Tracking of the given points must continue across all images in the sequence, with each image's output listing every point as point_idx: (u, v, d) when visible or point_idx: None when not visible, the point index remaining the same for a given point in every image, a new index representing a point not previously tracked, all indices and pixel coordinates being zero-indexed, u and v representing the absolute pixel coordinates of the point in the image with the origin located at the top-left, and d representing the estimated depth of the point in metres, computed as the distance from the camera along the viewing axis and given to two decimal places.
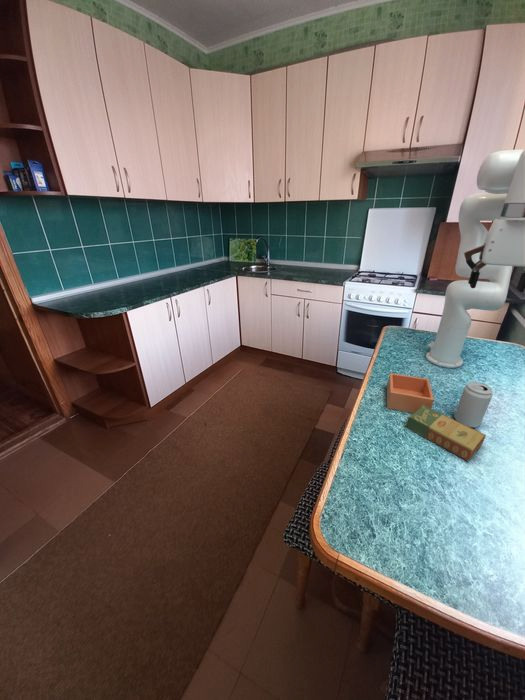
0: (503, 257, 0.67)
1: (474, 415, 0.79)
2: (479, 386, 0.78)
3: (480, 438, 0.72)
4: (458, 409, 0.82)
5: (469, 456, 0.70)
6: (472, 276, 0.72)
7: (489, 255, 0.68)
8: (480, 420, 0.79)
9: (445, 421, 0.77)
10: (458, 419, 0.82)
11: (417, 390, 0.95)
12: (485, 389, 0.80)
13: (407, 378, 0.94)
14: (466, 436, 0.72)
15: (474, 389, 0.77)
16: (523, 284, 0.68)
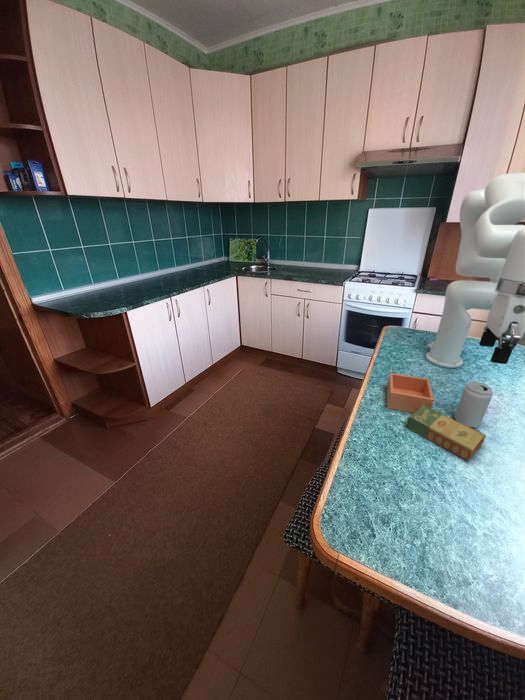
0: (490, 322, 0.72)
1: (474, 415, 0.79)
2: (479, 386, 0.78)
3: (480, 438, 0.72)
4: (458, 409, 0.82)
5: (469, 456, 0.70)
6: None
7: (488, 317, 0.74)
8: (480, 420, 0.79)
9: (445, 421, 0.77)
10: (458, 419, 0.82)
11: (417, 390, 0.95)
12: (485, 389, 0.80)
13: (407, 378, 0.94)
14: (466, 436, 0.72)
15: (474, 389, 0.77)
16: None
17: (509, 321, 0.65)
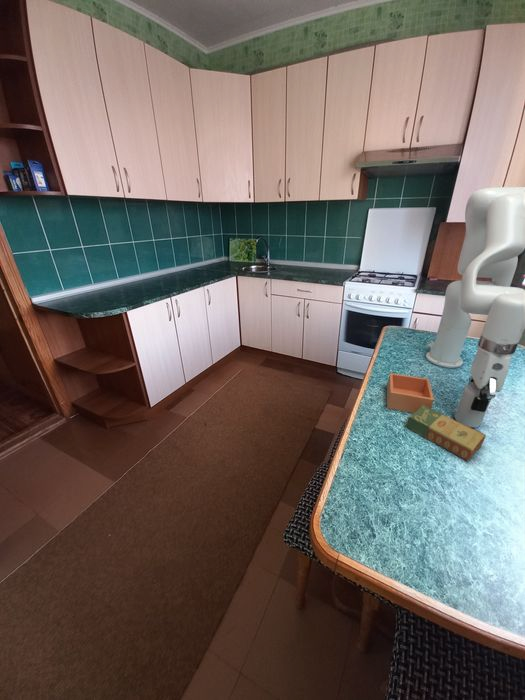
0: (473, 372, 0.78)
1: (474, 415, 0.79)
2: None
3: (480, 438, 0.72)
4: (458, 409, 0.82)
5: (469, 456, 0.70)
6: None
7: (471, 366, 0.80)
8: (480, 420, 0.79)
9: (445, 421, 0.77)
10: (458, 419, 0.82)
11: (417, 390, 0.95)
12: None
13: (407, 378, 0.94)
14: (466, 436, 0.72)
15: (474, 389, 0.77)
16: None
17: (489, 376, 0.71)
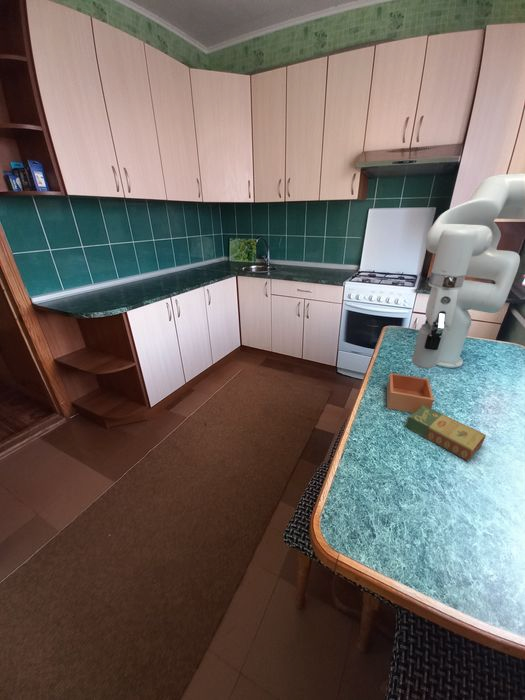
0: (426, 312, 0.79)
1: (428, 355, 0.80)
2: None
3: (480, 438, 0.72)
4: (414, 351, 0.84)
5: (469, 456, 0.70)
6: None
7: (426, 308, 0.82)
8: (435, 360, 0.81)
9: (445, 421, 0.77)
10: (414, 361, 0.84)
11: (417, 390, 0.95)
12: None
13: (407, 378, 0.94)
14: (466, 436, 0.72)
15: (427, 328, 0.79)
16: None
17: (438, 311, 0.73)
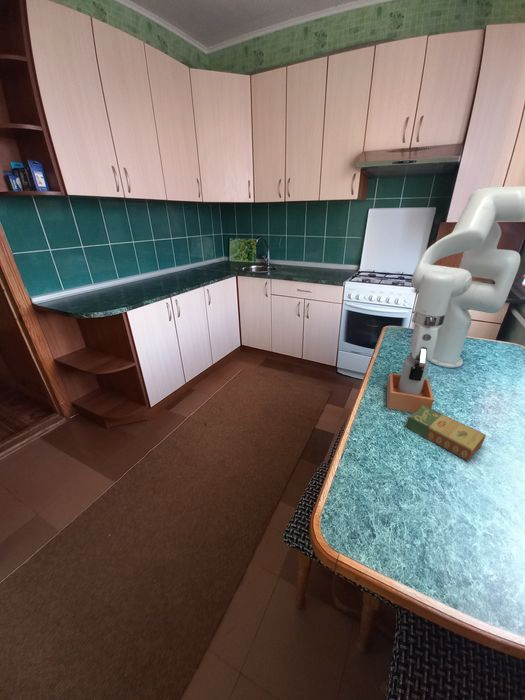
0: (411, 345, 0.85)
1: (412, 385, 0.86)
2: None
3: (480, 438, 0.72)
4: (400, 380, 0.89)
5: (469, 456, 0.70)
6: None
7: (411, 340, 0.87)
8: (419, 389, 0.87)
9: (445, 421, 0.77)
10: (400, 389, 0.90)
11: None
12: None
13: None
14: (466, 436, 0.72)
15: (411, 360, 0.85)
16: None
17: (420, 346, 0.79)
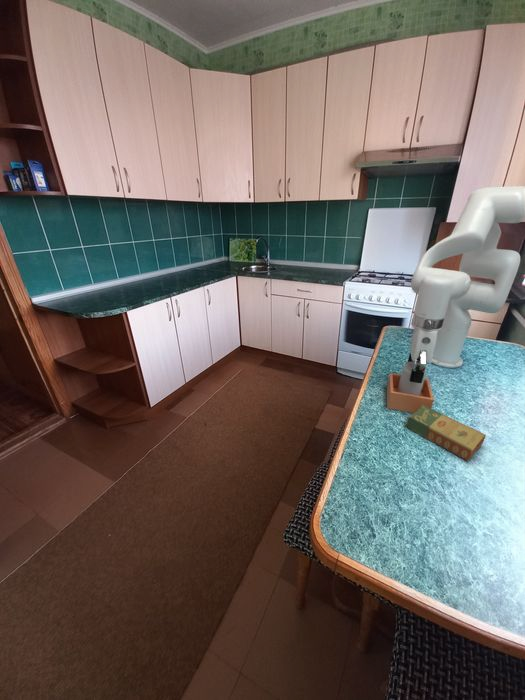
0: None
1: (410, 391, 0.87)
2: None
3: (480, 438, 0.72)
4: (399, 386, 0.91)
5: (469, 456, 0.70)
6: (411, 356, 0.92)
7: None
8: None
9: (445, 421, 0.77)
10: None
11: None
12: None
13: None
14: (466, 436, 0.72)
15: (410, 367, 0.86)
16: None
17: (419, 349, 0.79)
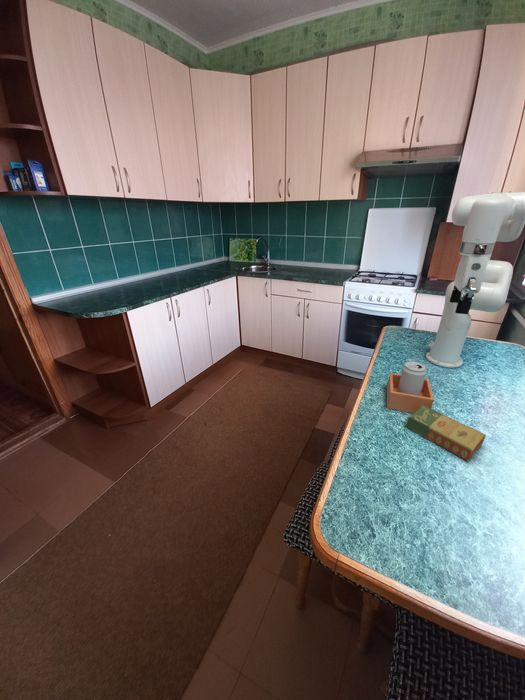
0: (456, 280, 0.86)
1: (410, 391, 0.87)
2: (415, 365, 0.87)
3: (480, 438, 0.72)
4: (399, 386, 0.91)
5: (469, 456, 0.70)
6: None
7: (455, 277, 0.88)
8: None
9: (445, 421, 0.77)
10: None
11: None
12: (421, 368, 0.88)
13: None
14: (466, 436, 0.72)
15: (410, 367, 0.86)
16: None
17: (468, 277, 0.79)
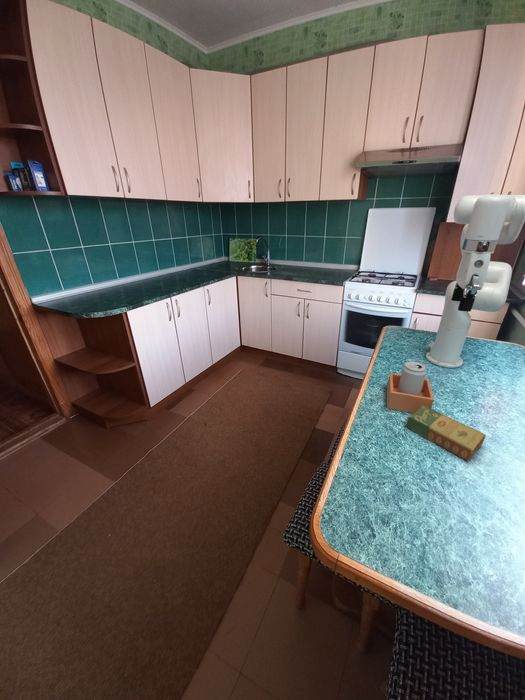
0: (458, 278, 0.86)
1: (410, 391, 0.87)
2: (415, 365, 0.87)
3: (480, 438, 0.72)
4: (399, 386, 0.91)
5: (469, 456, 0.70)
6: None
7: (457, 275, 0.88)
8: None
9: (445, 421, 0.77)
10: None
11: None
12: (421, 368, 0.88)
13: None
14: (466, 436, 0.72)
15: (410, 367, 0.86)
16: None
17: (471, 274, 0.79)
